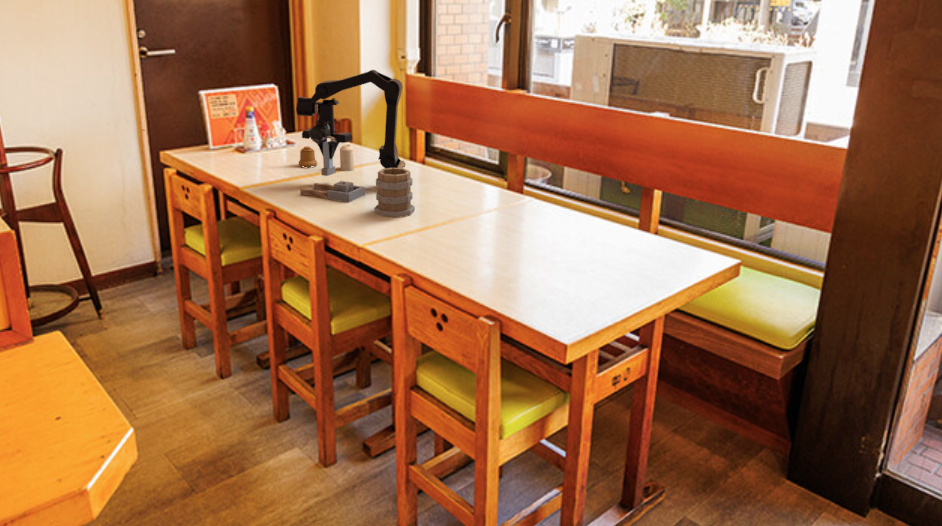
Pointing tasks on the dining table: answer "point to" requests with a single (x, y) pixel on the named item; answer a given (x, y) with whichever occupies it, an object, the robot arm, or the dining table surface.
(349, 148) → the candle
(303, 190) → the slot rails
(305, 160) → the ornamental finial
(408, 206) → the tankard
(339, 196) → the box
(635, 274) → the dining table surface
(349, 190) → the dice cube
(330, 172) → the grey notched beam
